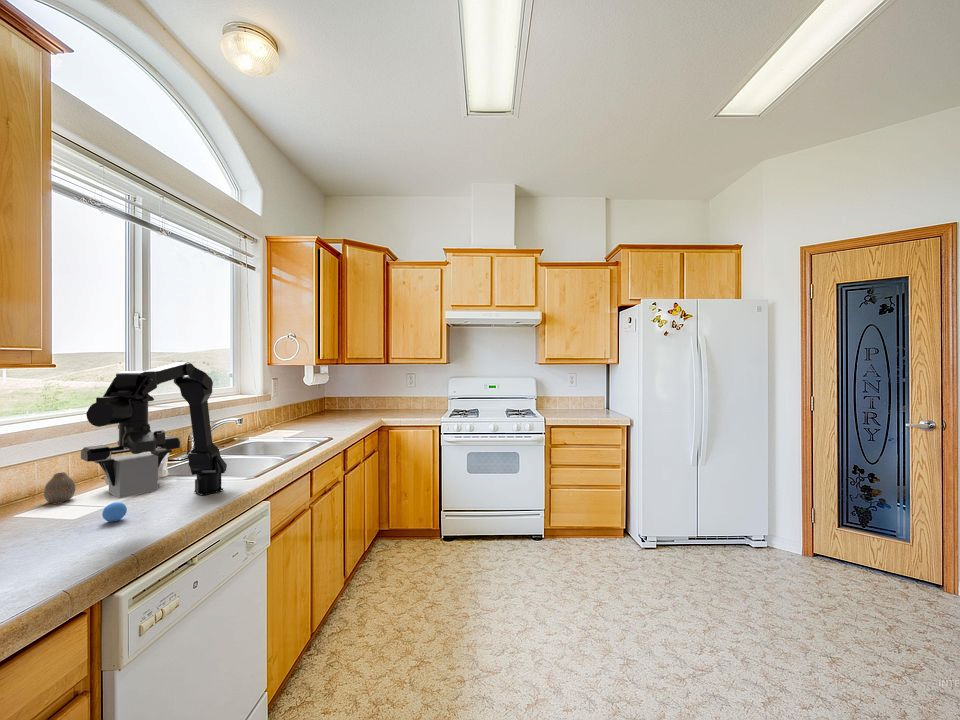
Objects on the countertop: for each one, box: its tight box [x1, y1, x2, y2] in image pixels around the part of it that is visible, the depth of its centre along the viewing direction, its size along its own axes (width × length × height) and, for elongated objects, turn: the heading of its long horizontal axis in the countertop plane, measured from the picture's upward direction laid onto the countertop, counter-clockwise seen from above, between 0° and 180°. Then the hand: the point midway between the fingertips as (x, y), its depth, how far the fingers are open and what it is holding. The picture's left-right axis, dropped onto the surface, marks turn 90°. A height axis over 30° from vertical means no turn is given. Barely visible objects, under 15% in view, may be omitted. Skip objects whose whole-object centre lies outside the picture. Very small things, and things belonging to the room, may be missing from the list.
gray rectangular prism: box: [108, 452, 159, 499], centre depth 104 cm, size 8×8×9 cm
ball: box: [101, 501, 128, 523], centre depth 112 cm, size 5×5×5 cm
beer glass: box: [147, 434, 170, 478], centre depth 155 cm, size 7×7×15 cm
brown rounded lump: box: [43, 472, 76, 504], centre depth 127 cm, size 7×7×9 cm
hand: (133, 481), depth 105 cm, fingers closed on gray rectangular prism, 8 cm apart
